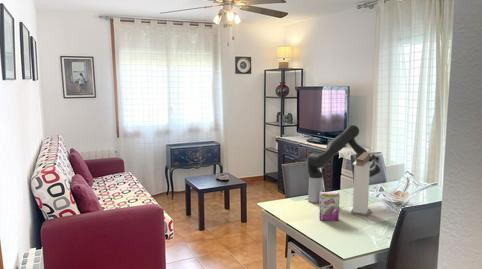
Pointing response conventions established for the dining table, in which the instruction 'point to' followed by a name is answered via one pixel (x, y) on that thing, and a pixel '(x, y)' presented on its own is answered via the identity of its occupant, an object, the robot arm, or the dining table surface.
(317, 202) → the robot arm
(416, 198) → the dining table surface
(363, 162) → the walnut bar
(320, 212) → the candy bar box
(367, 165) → the shelf post
